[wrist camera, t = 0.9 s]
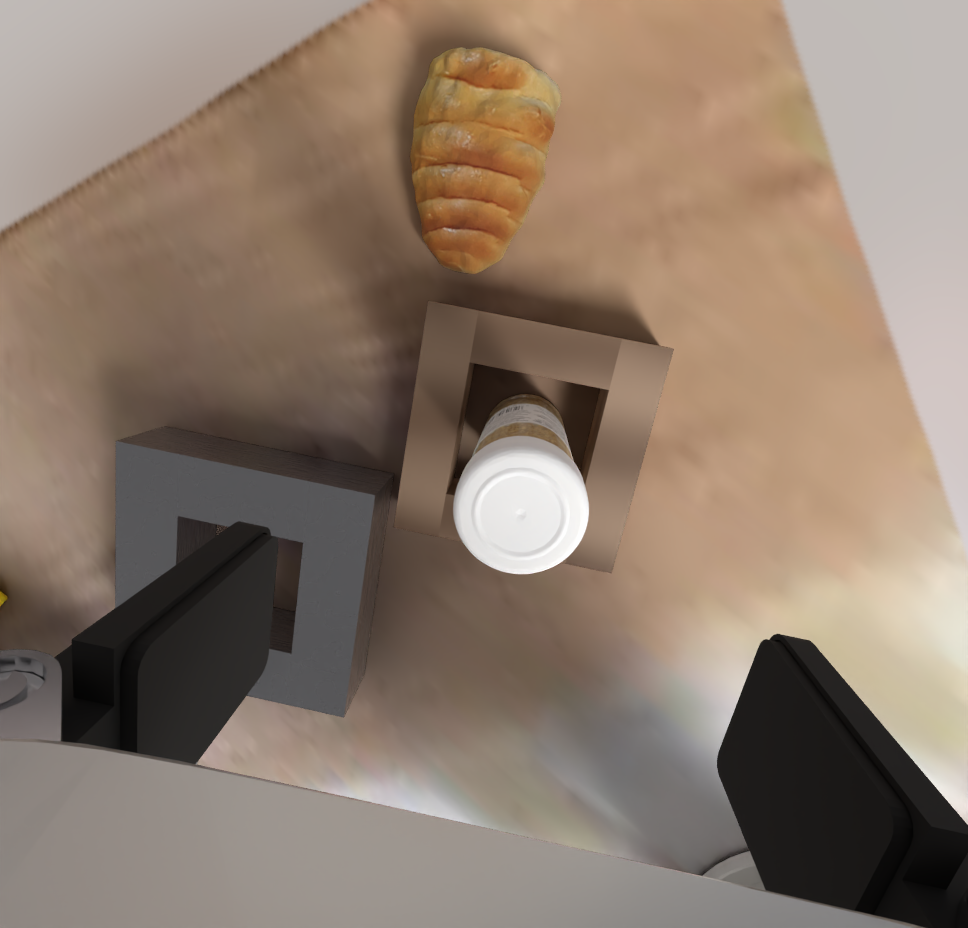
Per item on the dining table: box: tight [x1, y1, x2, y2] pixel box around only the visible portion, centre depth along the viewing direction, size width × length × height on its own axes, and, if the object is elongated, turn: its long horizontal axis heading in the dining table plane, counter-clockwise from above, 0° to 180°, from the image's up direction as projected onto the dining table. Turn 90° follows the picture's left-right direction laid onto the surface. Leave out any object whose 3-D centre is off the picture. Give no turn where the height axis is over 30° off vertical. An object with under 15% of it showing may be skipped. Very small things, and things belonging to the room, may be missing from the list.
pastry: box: [410, 47, 561, 274], centre depth 26 cm, size 9×7×4 cm
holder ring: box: [394, 301, 674, 573], centre depth 29 cm, size 12×12×3 cm
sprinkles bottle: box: [453, 394, 589, 574], centre depth 24 cm, size 5×5×14 cm
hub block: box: [115, 426, 394, 717], centre depth 32 cm, size 14×14×4 cm
